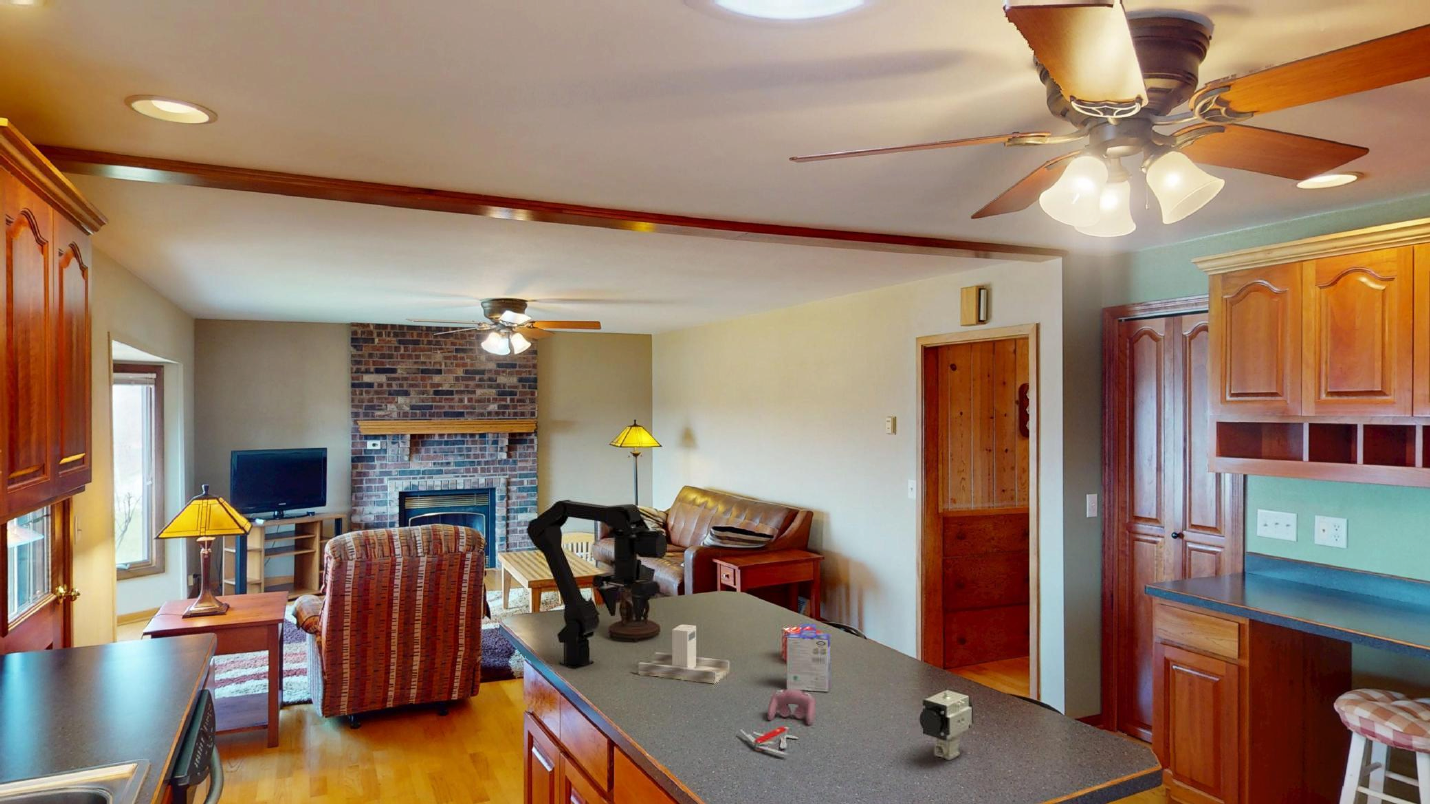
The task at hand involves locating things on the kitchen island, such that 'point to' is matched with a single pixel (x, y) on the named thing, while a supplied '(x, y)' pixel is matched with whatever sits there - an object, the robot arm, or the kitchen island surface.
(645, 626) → the wooden figurine
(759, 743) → the swiss army knife
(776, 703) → the video game controller
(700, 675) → the mounting rail
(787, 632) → the red patterned cube
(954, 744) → the pneumatic valve
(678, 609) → the kitchen island surface
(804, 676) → the ink cartridge box
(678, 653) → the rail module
